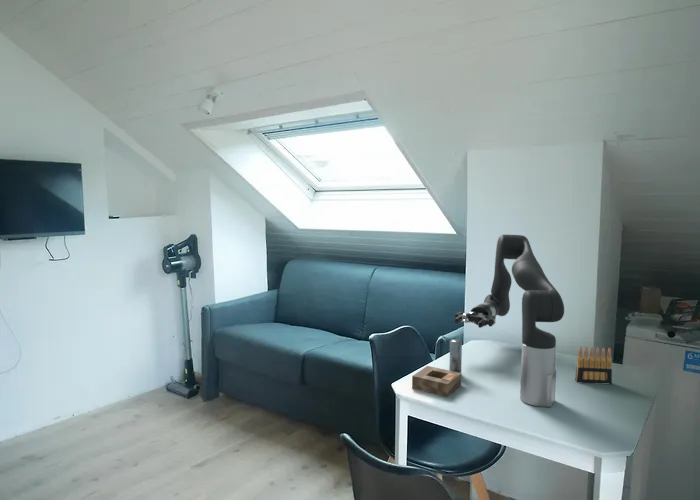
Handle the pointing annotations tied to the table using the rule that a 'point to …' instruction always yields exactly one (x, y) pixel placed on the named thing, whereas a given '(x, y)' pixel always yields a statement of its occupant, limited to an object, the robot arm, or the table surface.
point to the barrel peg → (455, 355)
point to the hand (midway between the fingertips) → (467, 323)
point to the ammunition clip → (594, 367)
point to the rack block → (436, 380)
